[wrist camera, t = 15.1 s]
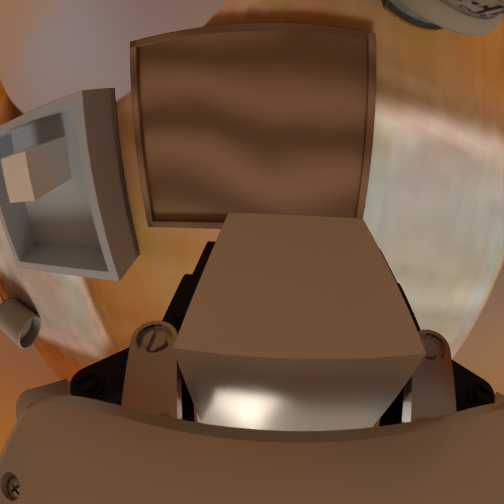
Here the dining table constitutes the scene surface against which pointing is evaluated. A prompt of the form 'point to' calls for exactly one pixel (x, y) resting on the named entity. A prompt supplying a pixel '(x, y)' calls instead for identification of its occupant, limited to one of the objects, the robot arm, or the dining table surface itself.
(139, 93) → the walnut tray
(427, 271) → the dining table surface
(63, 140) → the beige block
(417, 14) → the apothecary jar
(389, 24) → the dining table surface
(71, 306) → the dining table surface
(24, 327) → the ceramic mug
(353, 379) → the stone
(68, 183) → the tub
